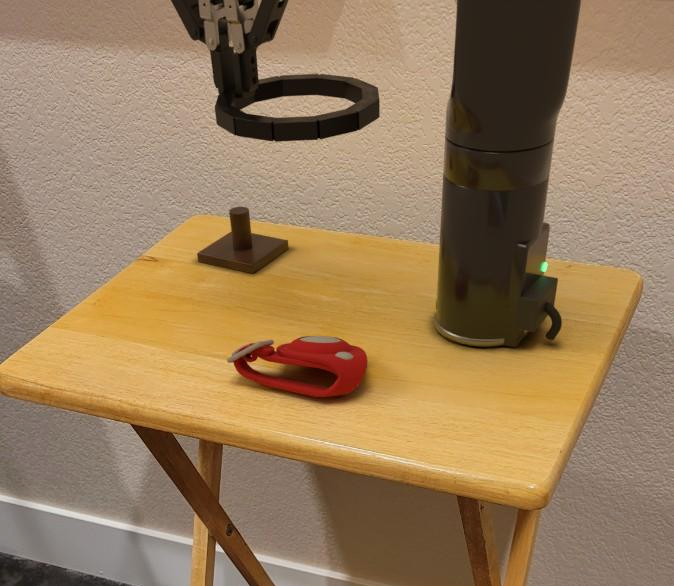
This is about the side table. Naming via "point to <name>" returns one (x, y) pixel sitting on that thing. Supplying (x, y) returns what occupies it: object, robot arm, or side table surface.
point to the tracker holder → (305, 363)
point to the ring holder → (242, 246)
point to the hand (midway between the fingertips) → (237, 94)
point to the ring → (300, 127)
